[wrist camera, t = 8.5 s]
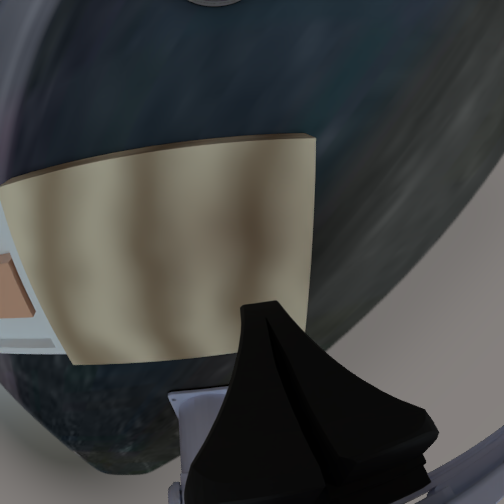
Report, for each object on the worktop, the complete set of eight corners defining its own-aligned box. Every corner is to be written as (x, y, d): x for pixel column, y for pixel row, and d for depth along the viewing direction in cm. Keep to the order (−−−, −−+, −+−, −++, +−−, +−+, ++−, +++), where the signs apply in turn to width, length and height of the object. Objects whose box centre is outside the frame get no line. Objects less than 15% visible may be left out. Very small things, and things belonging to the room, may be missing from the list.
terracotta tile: (16, 251, 18) (7, 262, 17) (39, 304, 21) (33, 317, 19) (-24, 258, 17) (-33, 269, 16) (-1, 307, 20) (-8, 318, 19)
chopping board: (304, 133, 18) (315, 138, 17) (297, 325, 26) (303, 341, 25) (11, 178, 16) (-3, 187, 14) (77, 348, 24) (73, 364, 22)
